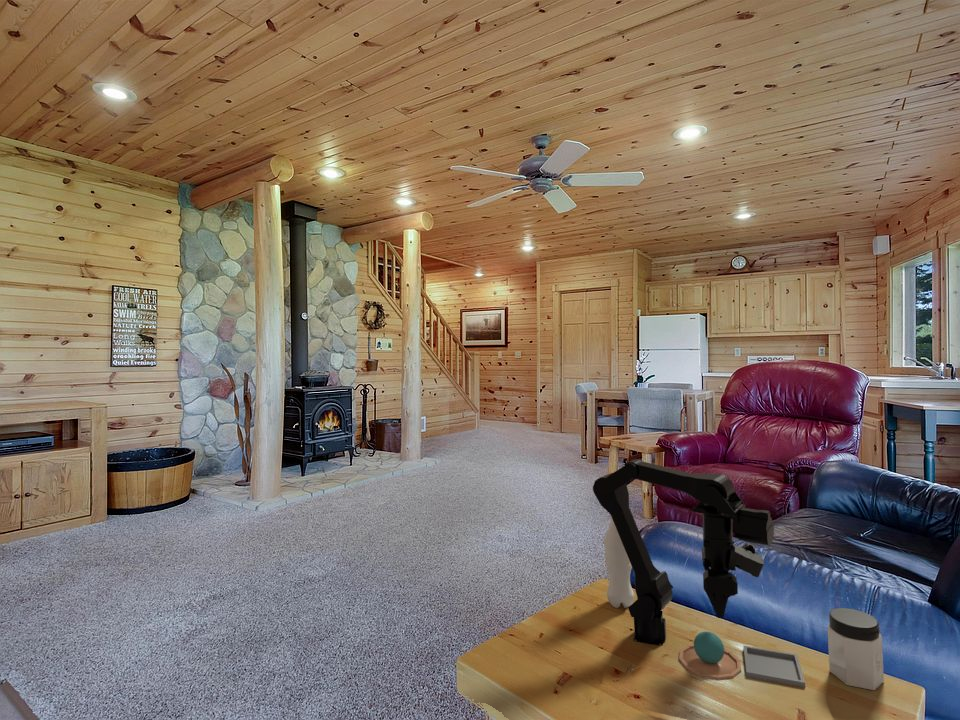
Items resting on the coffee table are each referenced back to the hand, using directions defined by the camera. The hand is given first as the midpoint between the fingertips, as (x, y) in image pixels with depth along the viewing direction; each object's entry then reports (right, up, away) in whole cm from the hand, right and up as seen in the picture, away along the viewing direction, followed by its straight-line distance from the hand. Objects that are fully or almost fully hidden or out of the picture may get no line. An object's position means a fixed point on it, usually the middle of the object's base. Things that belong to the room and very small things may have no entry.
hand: (719, 607), depth 110 cm
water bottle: (-13, -13, +28) cm, 34 cm away
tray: (+10, -12, -3) cm, 15 cm away
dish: (-2, -12, 0) cm, 12 cm away
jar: (+25, -11, -7) cm, 28 cm away
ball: (-2, -12, 0) cm, 12 cm away
